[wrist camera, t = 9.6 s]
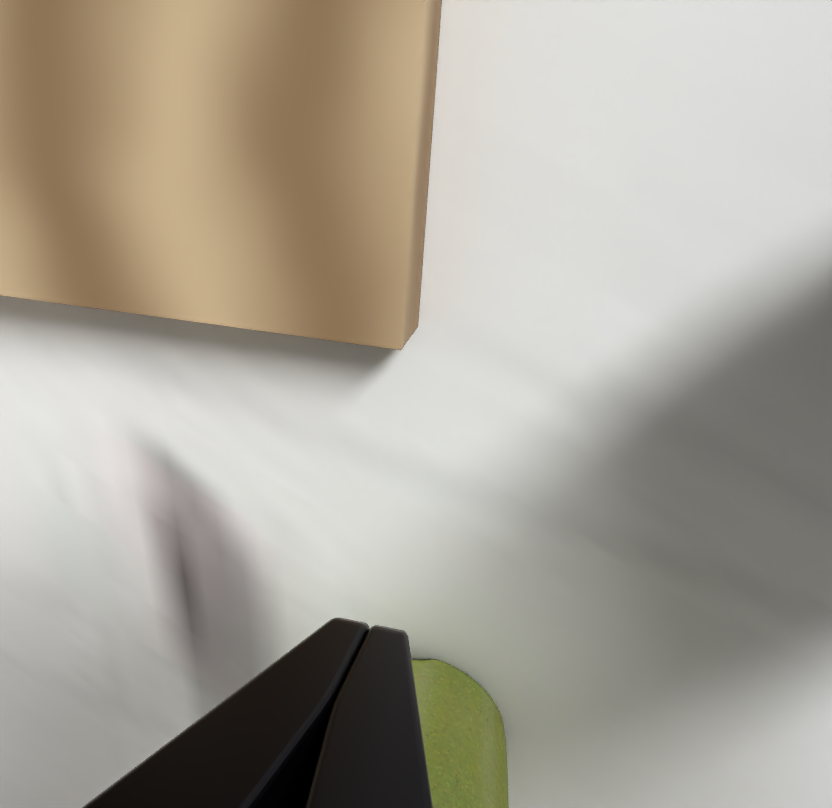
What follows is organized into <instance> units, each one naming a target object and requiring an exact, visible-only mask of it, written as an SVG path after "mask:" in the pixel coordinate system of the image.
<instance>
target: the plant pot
mask: <svg viewBox="0 0 832 808" xmlns="http://www.w3.org/2000/svg"><path fill="white" fill-rule="evenodd" d="M411 661H412V668H413V674H414V681H415V688H416V695H417V702H418V709H419V715H420V722H421V729H422V736H423V743H424V750H425V757H426V763H427V770H428V777H429V784H430V791H431V798H432V804H433V808H509V807H508V778H507V757H506V739H505V732H504V726H503V721H502V718H501V715H500V712H499V710H498V708H497V706H496V705H495V703H494V701H493V700H492V698H491V697H490V696H489V695H488V693H487V692H486V691H485V690H484V689H483V688H482V687H481V686H480V685H479V684H478V683H477V682H475V681H474V680H473V679H472V678H470V677H469V676H468V675H466V674H465V673H463V672H462V671H460V670H458V669H457V668H455V667H453V666H451V665H449V664H447V663H445V662H442V661H439V660H435V659H434V660H422V661H420V660H411Z"/></svg>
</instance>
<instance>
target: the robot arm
mask: <svg viewBox="0 0 832 808" xmlns="http://www.w3.org/2000/svg"><path fill="white" fill-rule="evenodd" d="M82 808H433V804H432V798H431V791H430V784H429V777H428V770H427V763H426V757H425V750H424V743H423V736H422V729H421V722H420V715H419V709H418V702H417V695H416V688H415V681H414V674H413V668H412V661H411V654H410V647H409V640H408V635H407V634H406V632H405V631H403V630H398V629H393V628H388V627H383V626H378V625H375V626H373V627H371V628H369V626H368V625H367V624H366V623H363V622H359V621H354V620H349V619H344V618H334V619H332V620H330V621H329V622H327V623H326V624H325V625H323V626H322V627H321V628H319V629H318V630H317V631H315V632H314V633H313V634H311V635H310V636H309V637H307V638H306V639H305V640H303V641H302V642H301V643H299V644H298V645H297V646H295V647H294V648H293V649H291V650H290V651H289V652H288V653H286V654H285V655H284V656H282V657H281V658H280V659H278V660H277V661H276V662H274V663H273V664H272V665H270V666H269V667H268V668H266V669H265V670H264V671H262V672H261V673H260V674H258V675H257V676H256V677H254V678H253V679H252V680H250V681H249V682H248V683H246V684H245V685H244V686H243V687H241V688H240V689H239V690H237V691H236V692H235V693H233V694H232V695H231V696H229V697H228V698H227V699H225V700H224V701H223V702H221V703H220V704H219V705H217V706H216V707H215V708H213V709H212V710H211V711H209V712H208V713H207V714H205V715H204V716H203V717H201V718H200V719H199V720H198V721H196V722H195V723H194V724H192V725H191V726H190V727H188V728H187V729H186V730H184V731H183V732H182V733H180V734H179V735H178V736H176V737H175V738H174V739H172V740H171V741H170V742H168V743H167V744H166V745H164V746H163V747H162V748H160V749H159V750H158V751H156V752H155V753H154V754H153V755H151V756H150V757H149V758H147V759H146V760H145V761H143V762H142V763H141V764H139V765H138V766H137V767H135V768H134V769H133V770H131V771H130V772H129V773H127V774H126V775H125V776H123V777H122V778H121V779H119V780H118V781H117V782H115V783H114V784H113V785H111V786H110V787H109V788H108V789H106V790H105V791H104V792H102V793H101V794H100V795H98V796H97V797H96V798H94V799H93V800H92V801H90V802H89V803H88V804H86V805H85V806H84V807H82Z"/></svg>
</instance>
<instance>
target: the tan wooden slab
mask: <svg viewBox="0 0 832 808" xmlns="http://www.w3.org/2000/svg"><path fill="white" fill-rule="evenodd" d="M441 5H442V0H0V295H2V296H10V297H17V298H24V299H31V300H39V301H46V302H53V303H61V304H68V305H75V306H83V307H90V308H97V309H105V310H112V311H119V312H127V313H134V314H141V315H149V316H156V317H163V318H171V319H178V320H185V321H193V322H200V323H207V324H215V325H222V326H229V327H237V328H244V329H251V330H259V331H266V332H273V333H281V334H288V335H295V336H302V337H310V338H317V339H324V340H332V341H339V342H346V343H354V344H361V345H368V346H376V347H383V348H390V349H398V350H401V349H402V348H403V347H404V345H405V344H406V342H407V341H408V340H409V338H410V337H411V335H412V334H413V333H414V331H415V330H416V328H417V327H418V319H419V306H420V292H421V278H422V265H423V251H424V237H425V224H426V210H427V196H428V183H429V169H430V155H431V142H432V128H433V114H434V100H435V87H436V73H437V59H438V46H439V32H440V18H441Z"/></svg>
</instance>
